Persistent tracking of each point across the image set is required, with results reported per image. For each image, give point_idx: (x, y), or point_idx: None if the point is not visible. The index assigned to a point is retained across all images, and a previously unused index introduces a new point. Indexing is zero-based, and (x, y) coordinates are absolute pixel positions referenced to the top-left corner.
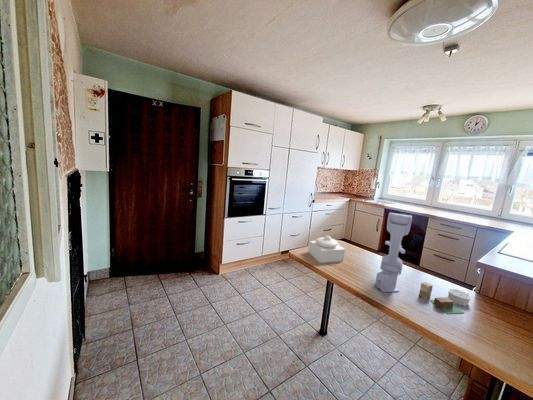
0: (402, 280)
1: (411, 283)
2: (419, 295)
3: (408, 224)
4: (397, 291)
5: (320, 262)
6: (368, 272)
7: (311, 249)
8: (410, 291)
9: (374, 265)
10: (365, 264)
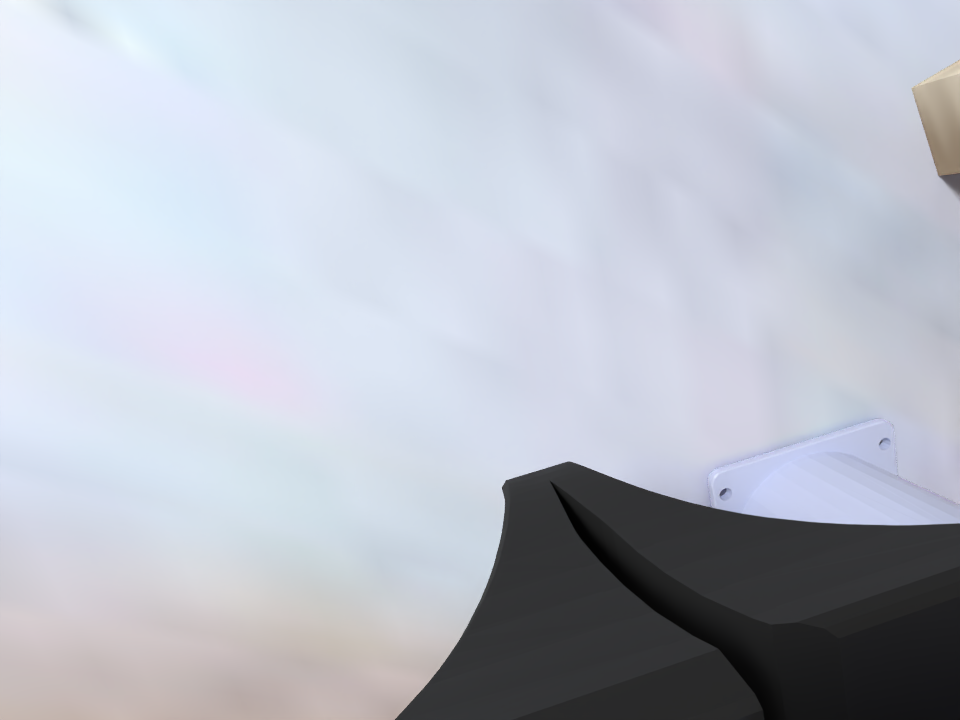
0: (568, 215)
1: (642, 102)
2: (945, 172)
3: None
4: (890, 440)
5: None
6: (417, 665)
7: None
8: (861, 250)
9: (79, 510)
10: (99, 657)
